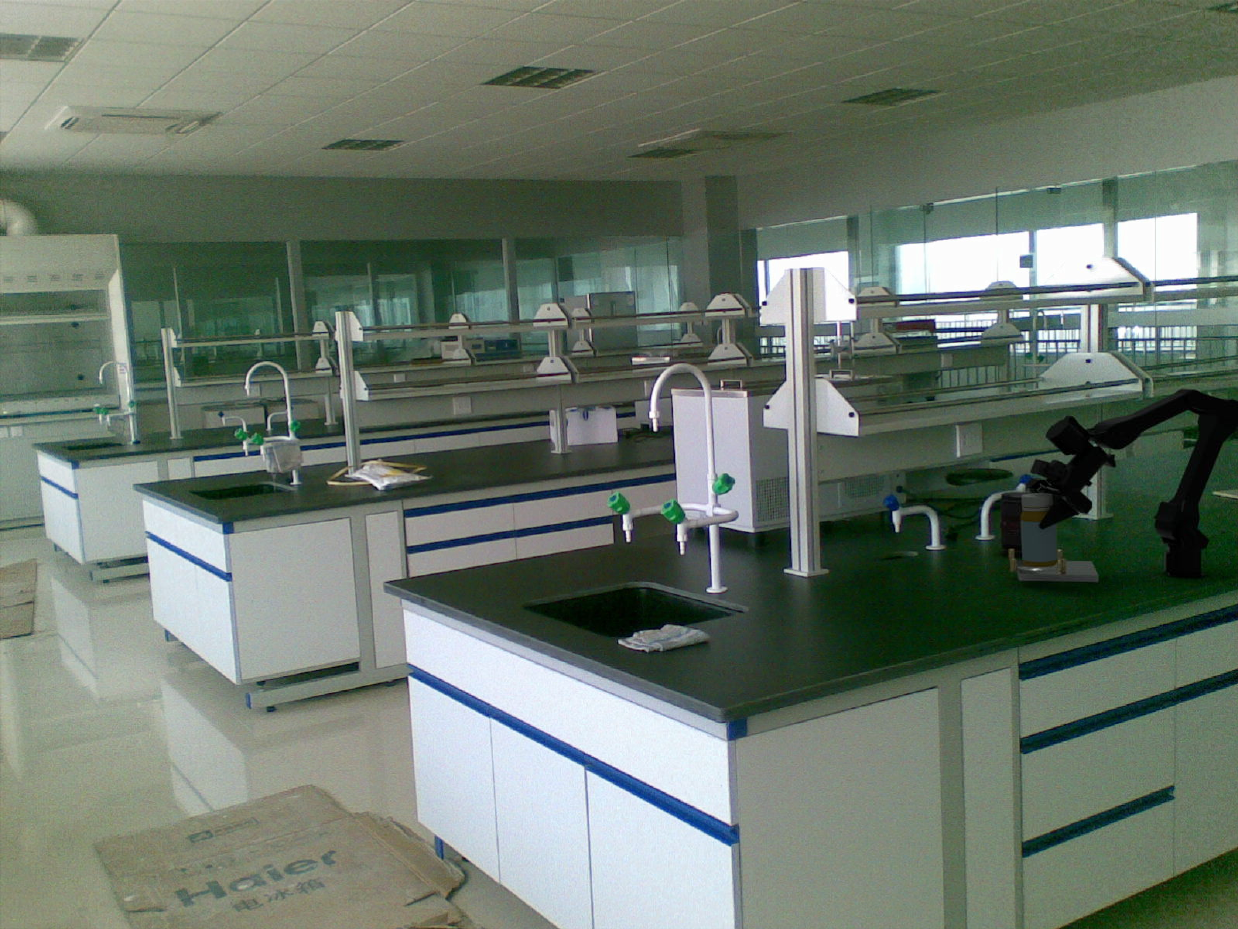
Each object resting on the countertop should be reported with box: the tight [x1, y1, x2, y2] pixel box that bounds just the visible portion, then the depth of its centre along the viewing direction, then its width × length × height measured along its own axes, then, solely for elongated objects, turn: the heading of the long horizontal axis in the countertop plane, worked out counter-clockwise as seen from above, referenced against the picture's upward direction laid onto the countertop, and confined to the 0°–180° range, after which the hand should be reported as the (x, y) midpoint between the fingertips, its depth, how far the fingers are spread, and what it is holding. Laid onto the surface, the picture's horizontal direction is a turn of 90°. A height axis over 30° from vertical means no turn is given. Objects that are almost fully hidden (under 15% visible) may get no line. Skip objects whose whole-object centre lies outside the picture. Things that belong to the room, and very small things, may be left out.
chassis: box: [1008, 548, 1099, 583], centre depth 241 cm, size 18×14×4 cm
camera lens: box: [999, 491, 1031, 559], centre depth 261 cm, size 8×8×15 cm
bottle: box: [1021, 492, 1058, 567], centre depth 231 cm, size 7×7×15 cm
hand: (1032, 525), depth 230 cm, fingers closed on bottle, 7 cm apart
